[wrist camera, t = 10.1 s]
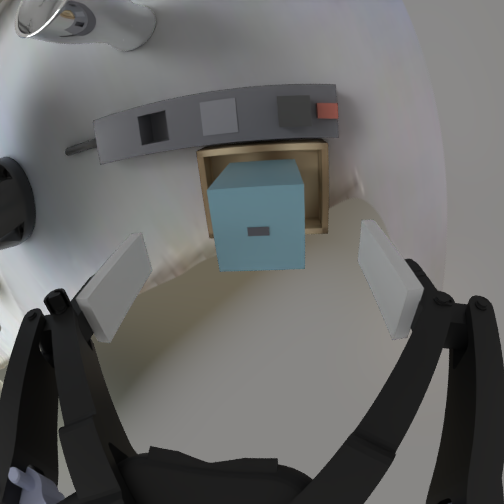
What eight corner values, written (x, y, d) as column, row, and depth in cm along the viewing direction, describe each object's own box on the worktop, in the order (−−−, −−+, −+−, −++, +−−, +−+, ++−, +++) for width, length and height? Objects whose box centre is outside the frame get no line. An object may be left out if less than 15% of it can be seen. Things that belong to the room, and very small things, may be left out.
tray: (216, 224, 32) (209, 238, 28) (205, 146, 27) (196, 151, 24) (322, 220, 30) (327, 233, 27) (321, 139, 26) (327, 143, 23)
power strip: (72, 169, 29) (43, 183, 24) (65, 133, 27) (35, 142, 22) (331, 134, 25) (344, 140, 20) (328, 87, 23) (341, 82, 18)
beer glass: (98, 50, 22) (2, 40, 8) (122, 0, 18) (38, -34, 5) (143, 60, 23) (48, 41, 9) (170, 7, 19) (95, -45, 6)
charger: (239, 212, 30) (219, 272, 20) (233, 158, 27) (206, 190, 17) (295, 210, 29) (304, 269, 19) (293, 154, 26) (304, 184, 16)
